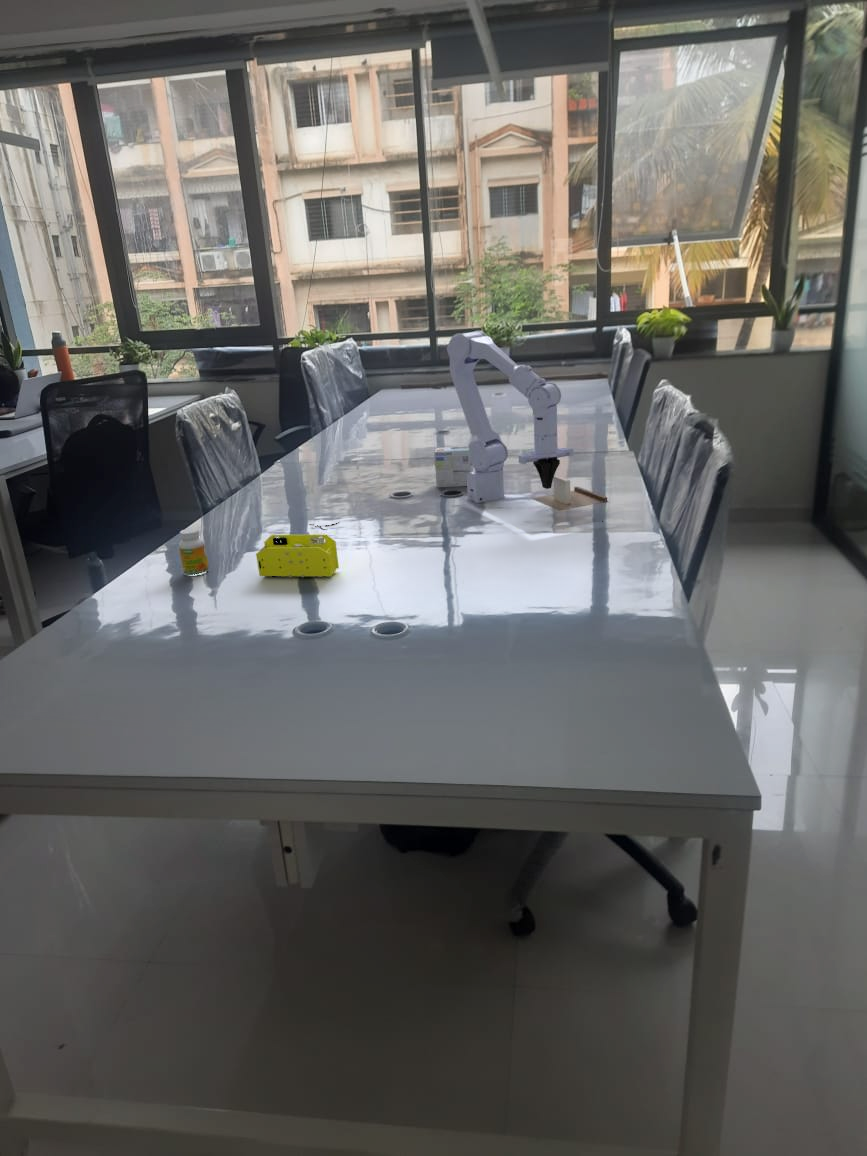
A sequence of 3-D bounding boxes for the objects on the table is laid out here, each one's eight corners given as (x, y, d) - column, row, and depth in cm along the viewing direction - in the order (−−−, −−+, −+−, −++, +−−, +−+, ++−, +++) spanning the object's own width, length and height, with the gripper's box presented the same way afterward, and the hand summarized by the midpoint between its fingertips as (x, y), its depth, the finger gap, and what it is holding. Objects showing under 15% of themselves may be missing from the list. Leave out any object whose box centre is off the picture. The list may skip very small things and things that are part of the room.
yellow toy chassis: (339, 571, 169) (335, 533, 166) (331, 580, 164) (326, 542, 161) (270, 570, 172) (264, 534, 169) (259, 580, 167) (253, 542, 164)
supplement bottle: (184, 578, 171) (175, 535, 168) (184, 571, 176) (176, 529, 172) (209, 574, 172) (201, 532, 169) (209, 567, 177) (201, 525, 174)
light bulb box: (473, 480, 236) (471, 445, 232) (472, 486, 230) (470, 449, 226) (438, 482, 237) (435, 446, 234) (436, 488, 231) (433, 451, 227)
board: (559, 514, 196) (559, 506, 195) (531, 502, 208) (531, 494, 207) (607, 505, 201) (607, 497, 200) (577, 494, 213) (577, 486, 212)
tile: (565, 504, 200) (565, 480, 198) (553, 499, 206) (553, 476, 204) (571, 503, 201) (570, 479, 199) (558, 498, 206) (558, 475, 204)
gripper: (527, 440, 190) (529, 495, 194) (579, 432, 194) (580, 486, 199) (513, 436, 196) (515, 489, 201) (564, 428, 201) (565, 481, 205)
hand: (546, 487), depth 200 cm, fingers closed
